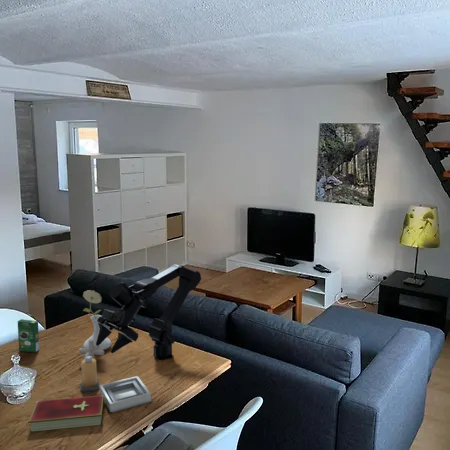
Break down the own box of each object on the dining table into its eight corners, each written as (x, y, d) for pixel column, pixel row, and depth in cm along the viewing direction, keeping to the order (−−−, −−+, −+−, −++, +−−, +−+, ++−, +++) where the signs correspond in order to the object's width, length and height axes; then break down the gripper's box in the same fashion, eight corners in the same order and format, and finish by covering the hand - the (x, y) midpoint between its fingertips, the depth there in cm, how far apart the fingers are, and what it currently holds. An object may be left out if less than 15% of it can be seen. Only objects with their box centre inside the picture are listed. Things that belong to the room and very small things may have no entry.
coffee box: (40, 350, 196) (38, 320, 193) (36, 353, 193) (34, 322, 191) (23, 348, 197) (20, 318, 195) (18, 351, 194) (16, 321, 192)
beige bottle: (96, 381, 170) (95, 352, 168) (101, 389, 165) (99, 359, 163) (78, 386, 167) (77, 355, 165) (82, 394, 162) (81, 363, 160)
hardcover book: (37, 411, 152) (36, 399, 151) (104, 405, 156) (104, 393, 155) (29, 433, 140) (28, 421, 140) (101, 426, 144) (101, 414, 143)
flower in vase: (117, 346, 200) (115, 289, 195) (96, 356, 190) (94, 297, 186) (95, 339, 206) (93, 284, 202) (74, 348, 197) (71, 291, 193)
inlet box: (137, 383, 169) (137, 375, 168) (150, 401, 157) (150, 393, 157) (99, 393, 162) (99, 385, 162) (110, 412, 151) (110, 404, 150)
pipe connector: (98, 371, 178) (96, 346, 176) (73, 368, 180) (72, 343, 178) (109, 359, 188) (108, 335, 186) (86, 357, 190) (85, 333, 188)
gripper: (100, 294, 176) (75, 331, 169) (130, 306, 163) (104, 346, 157) (118, 309, 183) (94, 345, 176) (149, 322, 170) (124, 360, 164)
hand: (103, 348), depth 168 cm, fingers open, 9 cm apart
